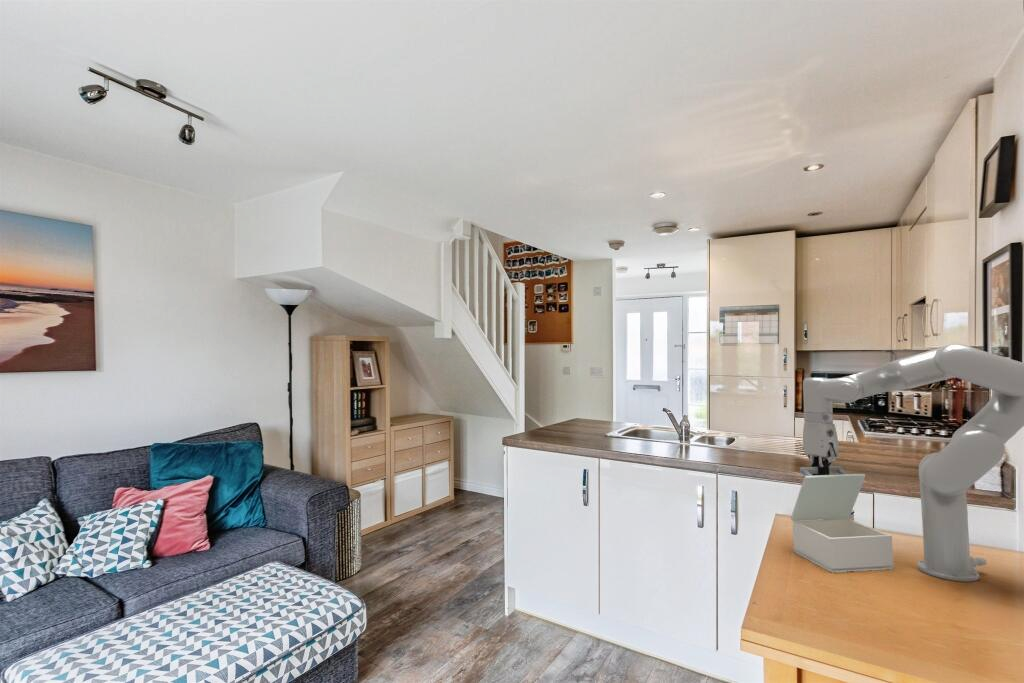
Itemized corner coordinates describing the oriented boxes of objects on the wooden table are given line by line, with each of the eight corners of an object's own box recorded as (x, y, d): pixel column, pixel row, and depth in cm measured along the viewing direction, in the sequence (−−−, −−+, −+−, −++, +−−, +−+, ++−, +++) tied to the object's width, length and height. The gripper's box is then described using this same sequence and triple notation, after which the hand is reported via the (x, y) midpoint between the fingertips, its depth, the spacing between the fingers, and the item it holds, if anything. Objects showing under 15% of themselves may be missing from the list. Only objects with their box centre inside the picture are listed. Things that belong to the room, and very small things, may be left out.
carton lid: (848, 518, 156) (833, 502, 163) (865, 475, 149) (849, 460, 156) (792, 521, 154) (779, 504, 161) (806, 477, 148) (792, 462, 154)
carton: (849, 548, 156) (848, 518, 156) (893, 569, 140) (891, 535, 140) (794, 551, 154) (792, 521, 155) (831, 572, 138) (830, 538, 139)
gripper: (849, 420, 148) (852, 484, 147) (812, 415, 164) (814, 473, 163) (825, 421, 147) (827, 485, 147) (790, 415, 163) (792, 474, 162)
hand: (820, 478), depth 155 cm, fingers closed on carton lid, 2 cm apart
